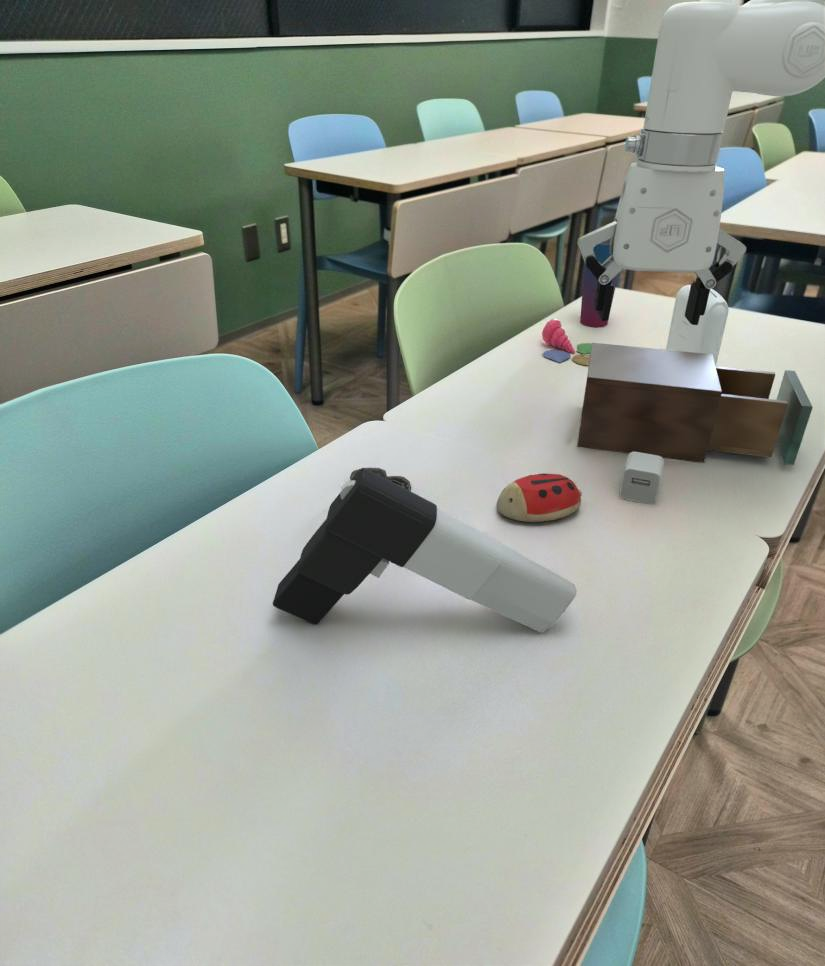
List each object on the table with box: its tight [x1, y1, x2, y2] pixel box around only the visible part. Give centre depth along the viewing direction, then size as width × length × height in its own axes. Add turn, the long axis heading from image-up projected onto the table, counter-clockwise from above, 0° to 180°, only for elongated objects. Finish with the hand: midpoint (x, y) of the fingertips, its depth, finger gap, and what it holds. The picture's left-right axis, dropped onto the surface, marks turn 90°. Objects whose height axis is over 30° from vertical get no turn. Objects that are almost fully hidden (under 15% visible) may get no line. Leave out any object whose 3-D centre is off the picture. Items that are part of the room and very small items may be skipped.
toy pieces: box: [541, 318, 593, 367], centre depth 122 cm, size 12×11×4 cm
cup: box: [579, 239, 620, 328], centre depth 132 cm, size 7×7×15 cm
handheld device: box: [272, 467, 578, 633], centre depth 64 cm, size 4×22×15 cm, turn 88°
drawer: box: [707, 365, 813, 466], centre depth 93 cm, size 16×11×8 cm
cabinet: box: [576, 342, 722, 463], centre depth 95 cm, size 16×13×10 cm
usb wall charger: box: [619, 452, 665, 505], centre depth 85 cm, size 4×7×4 cm, turn 159°
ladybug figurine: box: [496, 473, 583, 523], centre depth 80 cm, size 7×10×4 cm
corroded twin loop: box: [349, 467, 412, 492], centre depth 84 cm, size 5×8×1 cm, turn 54°
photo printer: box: [665, 284, 729, 366], centre depth 116 cm, size 10×4×12 cm, turn 13°
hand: (646, 319), depth 81 cm, fingers open, 9 cm apart
